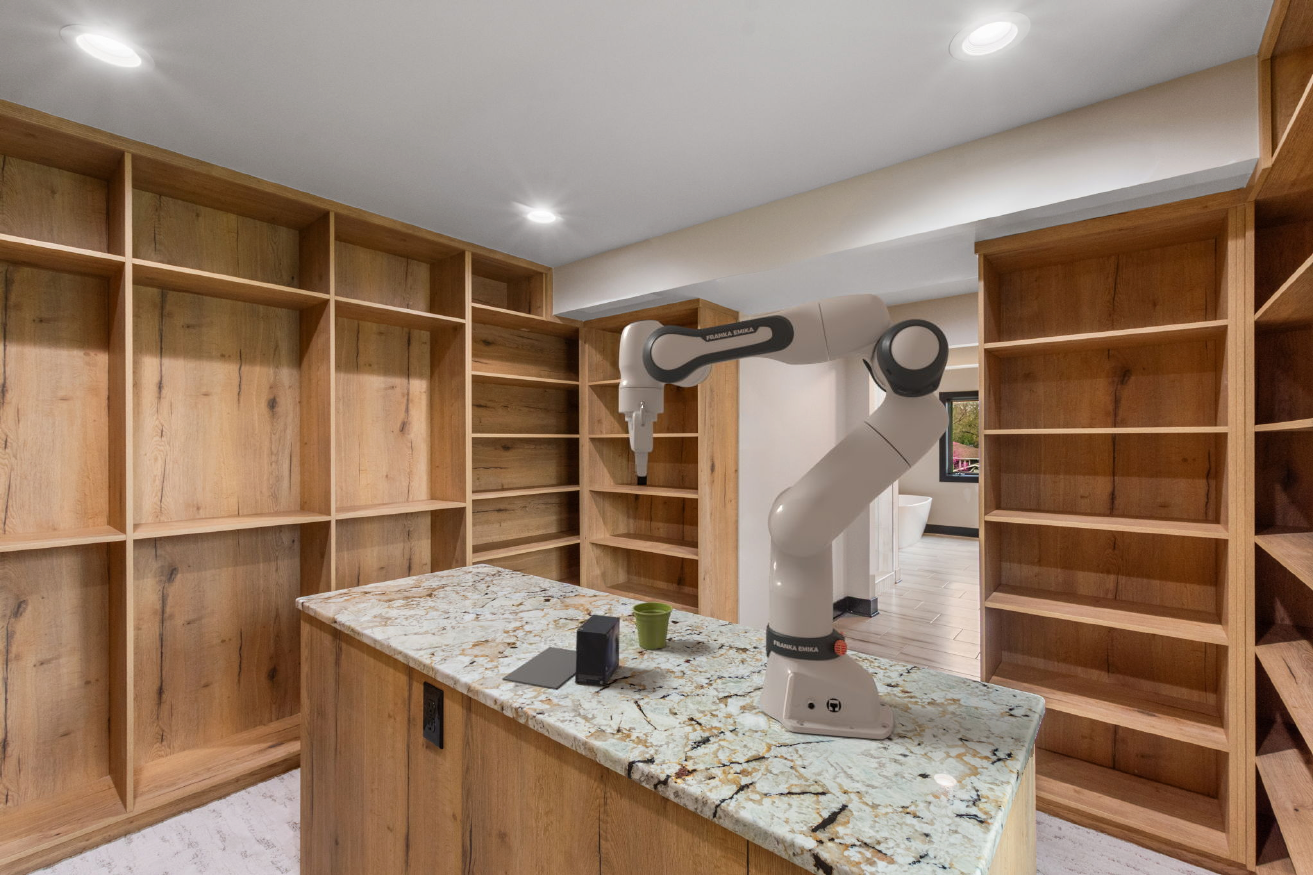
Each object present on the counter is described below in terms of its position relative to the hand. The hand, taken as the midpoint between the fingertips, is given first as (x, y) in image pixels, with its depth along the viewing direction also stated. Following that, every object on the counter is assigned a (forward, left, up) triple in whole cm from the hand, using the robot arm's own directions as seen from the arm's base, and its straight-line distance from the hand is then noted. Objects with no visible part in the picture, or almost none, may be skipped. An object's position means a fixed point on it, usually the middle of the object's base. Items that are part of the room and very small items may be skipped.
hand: (640, 474), depth 112 cm
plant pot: (+4, -19, -41) cm, 45 cm away
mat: (+19, 0, -40) cm, 45 cm away
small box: (+9, 0, -41) cm, 42 cm away
